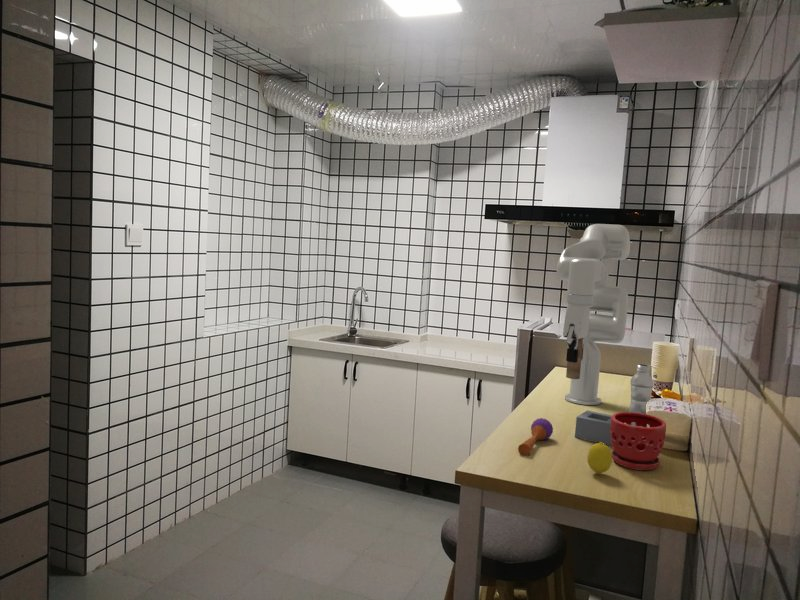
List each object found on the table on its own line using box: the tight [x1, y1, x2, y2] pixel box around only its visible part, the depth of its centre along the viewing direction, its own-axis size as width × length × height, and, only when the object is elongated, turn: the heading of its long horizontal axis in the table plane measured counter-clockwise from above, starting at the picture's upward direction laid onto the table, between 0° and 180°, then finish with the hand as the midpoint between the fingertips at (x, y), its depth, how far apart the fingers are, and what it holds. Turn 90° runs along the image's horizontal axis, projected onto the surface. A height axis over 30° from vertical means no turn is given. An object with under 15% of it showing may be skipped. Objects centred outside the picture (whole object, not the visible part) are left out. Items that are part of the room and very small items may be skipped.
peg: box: [565, 336, 583, 380], centre depth 183 cm, size 4×4×14 cm
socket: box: [574, 409, 613, 446], centre depth 176 cm, size 10×10×6 cm
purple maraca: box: [517, 417, 554, 457], centre depth 165 cm, size 6×6×20 cm
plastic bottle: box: [628, 363, 654, 427], centre depth 186 cm, size 6×7×20 cm
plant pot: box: [610, 411, 667, 471], centre depth 154 cm, size 13×13×12 cm
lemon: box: [587, 442, 613, 475], centre depth 146 cm, size 6×6×8 cm
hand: (574, 360), depth 183 cm, fingers closed on peg, 4 cm apart
